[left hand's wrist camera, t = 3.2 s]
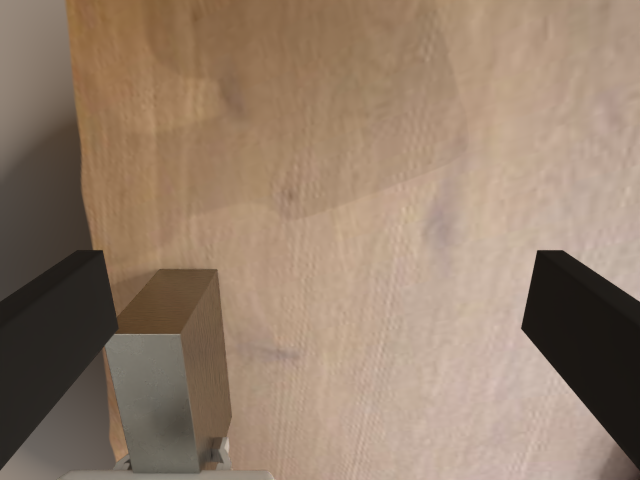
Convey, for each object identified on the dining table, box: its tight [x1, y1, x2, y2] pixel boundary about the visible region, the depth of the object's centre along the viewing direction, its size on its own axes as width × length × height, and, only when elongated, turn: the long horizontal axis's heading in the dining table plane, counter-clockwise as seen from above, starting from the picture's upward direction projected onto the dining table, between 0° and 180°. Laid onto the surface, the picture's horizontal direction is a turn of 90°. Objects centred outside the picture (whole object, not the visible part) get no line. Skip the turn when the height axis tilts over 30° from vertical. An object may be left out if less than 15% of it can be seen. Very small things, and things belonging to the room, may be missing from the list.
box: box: [105, 269, 232, 474], centre depth 41 cm, size 20×6×12 cm, turn 0°
